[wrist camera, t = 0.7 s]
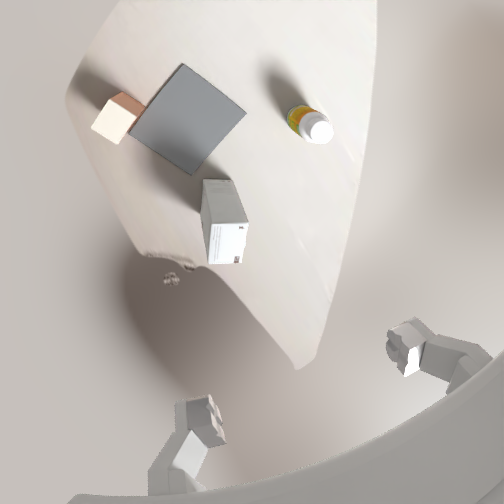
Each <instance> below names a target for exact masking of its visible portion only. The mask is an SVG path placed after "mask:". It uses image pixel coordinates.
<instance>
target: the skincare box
mask: <svg viewBox="0 0 504 504" xmlns="http://www.w3.org/2000/svg"><path fill="white" fill-rule="evenodd" d="M200 217H201V223H202V230H203V236H204V242H205V247H206V253H207V259H208V264H223V263H241V262H242V257H243V250H244V247H245V245H246V240H245V239H246V233H247V229H248V225H249V222H248V219H247V216H246V214H245V211H244V208H243V206H242V203H241V201H240V198H239V195H238V193H237V190H236V187H235V185H234V182H233V180H220V179H203V193H202V204H201V212H200Z"/></svg>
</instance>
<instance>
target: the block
mask: <svg viewBox="0 0 504 504" xmlns="http://www.w3.org/2000/svg"><path fill="white" fill-rule="evenodd" d="M144 107H145V106H144V105H142V104H141V103H139V102H138V101H136V100H135V99H133V98H132V97H130V96H129V95H127V94H126V93H124V92H121V93H119V94H117V95H115V96H114V97H112V98H110V99H109V100H108V102H107V103H106V105H105V106H104V108H103V109H102V111H101V112H100V114H99V115H98V117H97V119H96V120H95V122H94V123H93V125H92V127H91V129H93V130H94V131H96V132H98V133H99V134H101V135H102V136H104V137H106V138H107V139H109V140H110V141H112V142H113V143H115V144H117V145H118V143H119V142H120V141H121V139H122V138H123V136H124V135H125V134H126V132H127V131H128V130H129V128H130V127H131V125H132V124H133V122H134V121H135V120H136V118H137V117H138V116H139V114H140V113H141V111H142V110H143V109H144Z"/></svg>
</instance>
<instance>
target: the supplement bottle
mask: <svg viewBox="0 0 504 504" xmlns="http://www.w3.org/2000/svg"><path fill="white" fill-rule="evenodd" d="M287 123H288V125H289V127H290V128H291V129H292V130H293V131H294V132H296V133H297V134H298V135H299V136H301V137H302V138H303V139H304V140H306V141H308V142H311V143H318V144H325V143H327V142H328V141H330V139H331V138H332V136H333V132H334V131H333V127H332V125H331V124H330V123H329V120H328V119H327V117H326V116H325V115H323V114H322V113H320V112H318V111H316V110H314V109H312V108H310V107H308V106H306V105H297V106H295V107H293V108H292V109H291V110H290V111H289V113H288V115H287Z"/></svg>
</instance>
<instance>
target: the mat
mask: <svg viewBox="0 0 504 504" xmlns="http://www.w3.org/2000/svg"><path fill="white" fill-rule="evenodd" d="M246 114H247V113H246V112H245V111H243V110H242V109H241V108H240V107H239V106H237V105H236V104H235V103H234V102H232V101H231V100H230V99H229V98H227V97H226V96H225V95H224V94H222V93H221V92H220V91H219V90H217V89H216V88H215V87H214V86H212V85H211V84H210V83H208V82H207V81H206V80H204V79H203V78H202V77H200V76H199V75H198V74H196V73H195V72H194V71H192V70H191V69H190V68H188V67H187V66H186V65H184V64H183V66H182V67H181V68H180V69H179V70H178V71H177V72H176V74H175V75H174V76H173V77H172V78H171V79H170V81H169V82H168V83H167V84H166V85H165V87H164V88H163V89H162V90H161V91H160V93H159V94H158V95H157V96H156V98H155V99H154V100H153V102H152V103H151V104H150V105H149V107H148V108H147V109H146V111H145V112H144V113H143V115H142V116H141V117H140V119H139V120H138V122H137V123H136V124H135V126H134V127H133V129H132V130H131V131H130V133H129V135H131V136H132V137H134V138H135V139H137V140H138V141H140V142H142V143H143V144H145V145H146V146H148V147H149V148H151V149H152V150H154V151H155V152H157V153H158V154H160V155H161V156H163V157H164V158H166V159H167V160H169V161H170V162H172V163H173V164H175V165H176V166H178V167H179V168H181V169H182V170H184V171H185V172H187V173H188V174H190V175H192V174H193V173H194V172H195V171H196V169H197V168H198V167H199V166H200V165H201V164H202V162H203V161H204V160H205V159H206V158H207V157H208V155H209V154H210V153H211V152H212V151H213V150H214V149H215V147H216V146H217V145H218V144H219V143H220V142H221V141H222V140H223V139H224V137H225V136H226V135H227V134H228V133H229V132H230V131H231V130H232V129H233V128H234V127H235V125H236V124H237V123H238V122H239V121H240V120H241V119H242V118H243V117H244V116H245V115H246Z"/></svg>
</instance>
